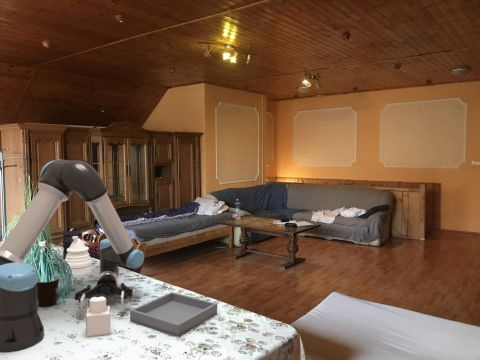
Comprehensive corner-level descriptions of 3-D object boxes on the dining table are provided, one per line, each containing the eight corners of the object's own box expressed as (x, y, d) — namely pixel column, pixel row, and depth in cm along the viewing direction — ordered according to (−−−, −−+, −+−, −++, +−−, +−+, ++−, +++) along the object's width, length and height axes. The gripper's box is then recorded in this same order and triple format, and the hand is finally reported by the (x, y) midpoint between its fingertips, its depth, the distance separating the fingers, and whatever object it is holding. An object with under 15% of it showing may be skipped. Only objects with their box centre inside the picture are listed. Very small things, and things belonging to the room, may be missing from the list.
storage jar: (84, 260, 216) (83, 233, 215) (64, 262, 211) (63, 234, 210) (81, 256, 224) (80, 229, 223) (62, 258, 219) (61, 231, 218)
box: (130, 321, 140) (130, 310, 139) (171, 301, 158) (171, 291, 158) (178, 337, 128) (178, 325, 128) (217, 314, 147) (217, 303, 147)
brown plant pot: (49, 309, 149) (49, 283, 148) (29, 307, 151) (29, 281, 150) (69, 298, 160) (68, 274, 160) (50, 296, 162) (49, 272, 161)
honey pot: (83, 276, 188) (82, 239, 186) (58, 275, 190) (57, 238, 188) (96, 269, 200) (96, 233, 199) (73, 267, 202) (72, 232, 201)
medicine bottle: (87, 327, 134) (87, 293, 133) (110, 325, 136) (109, 291, 135) (86, 337, 127) (85, 300, 126) (109, 334, 130) (109, 298, 129)
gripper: (139, 290, 164) (138, 310, 143) (74, 294, 158) (64, 316, 137) (139, 272, 163) (138, 289, 142) (74, 275, 157) (63, 294, 136)
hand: (102, 302), depth 140 cm, fingers open, 13 cm apart
